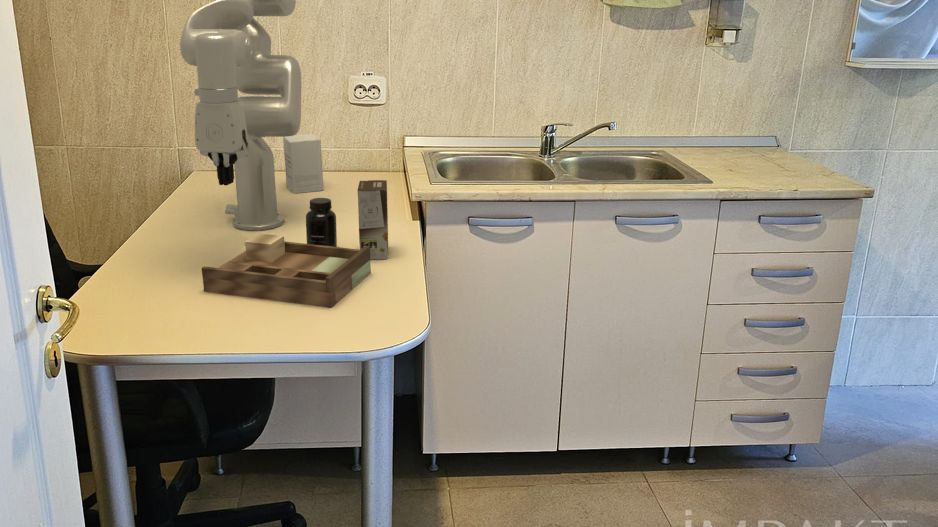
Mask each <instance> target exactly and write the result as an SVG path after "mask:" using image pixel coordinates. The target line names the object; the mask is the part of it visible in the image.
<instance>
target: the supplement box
mask: <svg viewBox="0 0 938 527" xmlns="http://www.w3.org/2000/svg"><path fill="white" fill-rule="evenodd" d="M282 140H283V141H282V143H283V153H284V166H285V168H284V170H285V181H286V182H285V183H286V185H285V186H286V187H287V189H289V190H290V191H291V193H292V194H295V195H296V194H303V193H311V192H313V193H314V192H320V191H324V190H325V189H324V177H323V176H324V174H323V173H324V171H323V158H322V155H323V154H322V143H321V142H322V141H321V139H320V138H318V137H317V136H316V135H315V134H314V133H309V134H296V135H294V136H287V137H282Z"/></svg>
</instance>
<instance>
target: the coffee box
mask: <svg viewBox="0 0 938 527" xmlns="http://www.w3.org/2000/svg"><path fill="white" fill-rule="evenodd" d="M357 206H358V237H359V250H361V249H362V248H363V247H365V246H370V260H387V259H388V253H389V223H388V222H389V215H388V212H389V211H388V209H389V208H388V181H387V179H386V180H384V179H383V180H381V179H378V180H377V179H376V180H374V179H371V180H359V182H358V186H357Z"/></svg>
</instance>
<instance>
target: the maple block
mask: <svg viewBox="0 0 938 527" xmlns="http://www.w3.org/2000/svg"><path fill="white" fill-rule="evenodd" d="M284 241H285V235H280V234H279V235H277V234H270V233H269V234H268V233H260V232H259V233H257V234H255V235H254V236H252V237H250V238H249V239H247V240H246V241H245V242H244V245H245V251H246V260H255V261H263V262H273V261H275V260H276V259H278V258H279V257H281V256H282V255H284V254H285V242H286V241H285V242H284Z"/></svg>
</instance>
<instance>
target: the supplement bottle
mask: <svg viewBox="0 0 938 527" xmlns="http://www.w3.org/2000/svg"><path fill="white" fill-rule="evenodd" d="M337 232H338V231H337V215H336V212H335V211H333V210H332V200H331V199H330V198H327V197H315V198H311V199H310V200H309V210H308V212H307V213H306V214H305V233H306V234H305V235H306V238H305V239H306V244H313V245H322V246H332V247H338V242H337V241H338V238H337Z"/></svg>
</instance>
